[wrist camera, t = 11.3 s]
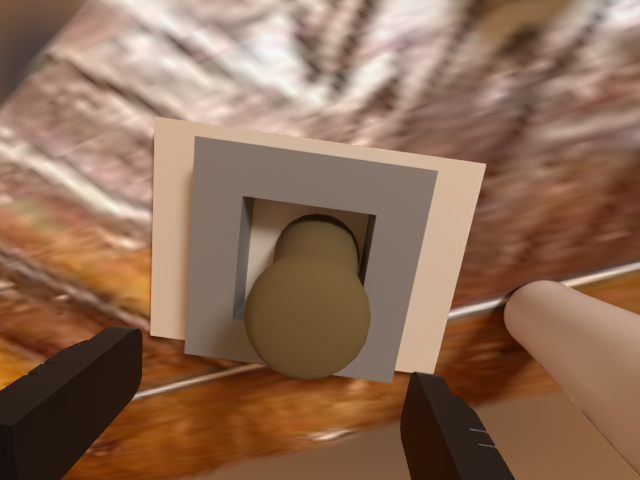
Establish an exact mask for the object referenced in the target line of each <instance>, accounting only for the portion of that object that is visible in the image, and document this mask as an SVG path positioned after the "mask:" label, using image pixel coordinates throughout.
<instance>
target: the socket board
mask: <svg viewBox="0 0 640 480" xmlns="http://www.w3.org/2000/svg"><path fill="white" fill-rule="evenodd" d="M485 167H486V164H482V163H475V162H468V161H461V160H454V159H447V158H440V157H433V156H426V155H419V154H412V153H406V152H399V151H392V150H385V149H378V148H371V147H364V146H357V145H350V144H343V143H336V142H329V141H322V140H315V139H308V138H301V137H294V136H287V135H280V134H273V133H266V132H259V131H252V130H245V129H238V128H231V127H224V126H217V125H210V124H203V123H196V122H189V121H182V120H176V119H169V118H162V117H155V134H154V183H153V232H152V282H151V331H150V335H152V336H159V337H166V338H173V339H180V340H185V352H184V354H191V355H198V356H205V357H212V358H219V359H226V360H233V361H240V362H246V363H253V364H260V365H267V364H266V363H264V362H263V361H262V360H261V359H260V358H259V357H258V355H257V354H256V352H255V350H254V349H253V347H252V345H251V344H250V342H249V341H248V337H247V332H246V328H245V324H244V319H245V309H246V300H247V297H248V295H249V293H250V290H251V288H252V286H253V284H254V282H255V281H256V279H257V278H258V277H259V276H260V275H261V274H262V273H263V272H264V271H265V270H266V269H267V268H268V267H269V266H270V265H271V264H272V263H273V259H274V253H275V247H276V242H277V240H278V238H279V236H280V234H281V232H282V230H283V229H284V228H285V227H286V226H287V225H288V224H289V223H290V222H291V221H293V220H295V219H297V218H299V217H301V216H303V215H310V214H316V213H317V214H323V215H330V216H332V217H334V218H336V219H338V220H340V221H342V222H343V223H344V224H345V225H346V226H347V227H348V228H349V229H350V230H351V231H352V233H353V235H354V237H355V239H356V241H357V243H358V249H359V263H358V271H357V277H358V278H359V280H360V282H361V284H362V286H363V288H364V290H365V292H366V294H367V296H368V299H369V306H370V314H371V321H370V325H369V330H368V335H367V339H366V343H365V344H364V346H363V347H362V349H361V351H360V352H359V354H358V356H357V357H356V358H355V359H354V360H353V361H352V362H351V363H349V364H348V365H347V366H346V367H345V368H343V369H342V370H341V371H339V372H337V373H334V374H332V375H337V376H344V377H351V378H358V379H365V380H372V381H379V382H386V383H392V380H393V375H394V371H395V370H396V371H403V372H410V373H413V372H414V371H415V372H422V373H429V374H434V370H435V366H436V362H437V358H438V354H439V350H440V346H441V342H442V338H443V334H444V330H445V326H446V322H447V318H448V314H449V310H450V307H451V303H452V299H453V295H454V291H455V287H456V283H457V279H458V275H459V271H460V267H461V263H462V259H463V255H464V251H465V247H466V243H467V239H468V235H469V231H470V227H471V223H472V219H473V215H474V211H475V207H476V203H477V199H478V195H479V191H480V187H481V183H482V179H483V175H484V171H485ZM267 366H268V365H267Z"/></svg>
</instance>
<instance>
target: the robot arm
mask: <svg viewBox="0 0 640 480" xmlns="http://www.w3.org/2000/svg"><path fill="white" fill-rule="evenodd" d="M141 378H142V332H141V330H139V329H136V328H129V327H122V326H116V325H111V326H109V327H107V328H105V329H104V330H103V331H101V332H100V333H98V334H97V335H95V336H94V337H92V338H91V339H90V340H85V341H82V342H80V343H77V344H75V345H72V346H70V347H67V348H65V349H63V350H61V351H60V352H58V353H57V354H55V355H54V356H52V357H51V358H49V359H48V360H46V361H45V363H44V364H40V365H39V366H37V367H36V368H34V369H33V370H31V371H30V372H28V375H24V376H22V377H21V378H19V379H17V380H16V381H14V382H13V383H11V384H10V385H8V386H7V387H5V388H4V389H2V390H1V391H0V480H61V479H62V478H63V477H64V475H65V474H66V473H67V472H68V471H69V470H70V469H71V468H72V466H73V465H74V464H75V463H76V462H77V461H78V460H79V458H80V457H81V456H82V455H83V454H84V453H85V452H86V451H87V449H88V448H89V447H90V446H91V445H92V444H93V443H94V441H95V440H96V439H97V438H98V437H99V436H100V435H101V434H102V432H103V431H104V430H105V429H106V428H107V427H108V426H109V425H110V423H111V422H112V421H113V420H114V419H115V418H116V417H117V415H118V414H119V413H120V412H121V411H122V410H123V409H124V408H125V406H126V405H127V404H128V403H129V402H130V401H131V400H132V398H133V397H134V396H135V394H136V392H137V390H138V388H139V385H140V382H141ZM400 431H401V440H402V444H403V448H404V452H405V456H406V460H407V464H408V468H409V472H410V476H411V480H515V478H514V477H513V475H512V473H511V472H510V470H509V468H508V466H507V465H506V463H505V461H504V460H503V458H502V456H501V455H500V453H499V451H498V450H497V449H495V444H494V443H493V441H492V439H491V438H490V436H489V434H487V433H486V429H485V427H484V426H483V424H482V422H481V421H480V419H479V417H478V416H477V414H476V412H475V411H474V410H473V409H472V408H470V407H469V406H468V405H467V404H466V403H465V402H464V401H463V400H462V399H461V398H460V397H455V396H452V394H451V392H450V390H449V389H448V387H447V385H446V383H445V381H444V379H443V377H442V376H440V375H435V374H429V373H422V372H415V371H414V372H413V373H412V375H411V377H410V381H409V385H408V390H407V394H406V398H405V402H404V407H403V411H402V415H401V424H400Z"/></svg>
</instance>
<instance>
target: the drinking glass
mask: <svg viewBox="0 0 640 480" xmlns="http://www.w3.org/2000/svg"><path fill="white" fill-rule="evenodd" d="M504 323H505V326H506V329H507V330H508V332H509V334H510V335H511V336H512V337H513V338H514V339H515V340H516V341H517V342H518V343H519V344H520V345H521V346H522V347H523V348H524V349H525V350H526V351H527V352H528V353H529V354H530V355H531V356H532V357H533V358H534V359H535V360H536V361H537V363H538V364H539V365H540V366H541V367H542V368H543V369H544V370H545V371H546V372H547V374H548V375H549V376H550V377H551V378H552V379H553V380H554V381H555V382H556V384H557V385H558V386H559V387H560V388H561V389H562V390H563V391H564V392H565V394H566V395H567V396H568V397H569V398H570V399H571V400H572V401H573V403H574V404H575V405H576V406H577V407H578V408H579V409H580V410H581V411H582V413H583V414H584V415H585V416H586V417H587V418H588V419H589V420H590V422H591V423H592V424H593V425H594V426H595V427H596V428H597V429H598V431H599V432H600V433H601V434H602V435H603V436H604V437H605V438H606V439H607V441H608V442H609V443H610V444H611V445H612V446H613V447H614V448H615V449H616V450H617V452H619V454H620V455H621V456H622V457H623V458H624V459H625V460H626V461H627V462H628V463H629V465H630V466H631V467H632V468H633V469H634V470H635V471H636V472H637V473H638V474H639V475H640V315H639V314H636V313H634V312H631V311H628V310H626V309H623V308H620V307H618V306H615V305H612V304H610V303H607V302H604V301H602V300H599V299H596V298H594V297H591V296H588V295H586V294H583V293H581V292H578V291H576V290H574V289H572V288H570V287H568V286H566V285H563V284H561V283H558V282H555V281H548V280H541V281H534V282H531V283H528V284H526V285H524V286H522V287H520V288H519V289H518V290H516V291H515V292H514V293H513V294H512V295H511V297H510V298H509V300H508V301H507V303H506V306H505V309H504Z"/></svg>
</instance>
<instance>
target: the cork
mask: <svg viewBox="0 0 640 480" xmlns="http://www.w3.org/2000/svg"><path fill="white" fill-rule="evenodd" d="M358 263H359V249H358V243H357V241H356V239H355V237H354V235H353V233H352V231H351V230H350V229H349V228H348V227H347V226H346V225H345V224H344V223H343V222H342V221H340V220H338V219H336V218H334V217H332V216H330V215H323V214H317V213H316V214H310V215H303V216H301V217H299V218H297V219H295V220H293V221H291V222H290V223H289V224H288V225H287V226H286V227H285V228H284V229H283V230H282V232H281V234H280V236H279V238H278V240H277V242H276V247H275V253H274V259H273V263H272V264H271V265H270V266H269V267H268V268H267V269H266V270H265V271H264V272H263V273H262V274H261V275H260V276H259V277H258V278H257V279H256V281H255V282H254V284H253V286H252V288H251V290H250V293H249V295H248V297H247V300H246V309H245V319H244V324H245V328H246V332H247V337H248V341H249V342H250V344H251V345H252V347H253V349H254V350H255V352H256V354H257V355H258V357H259V358H260V359H261V360H262V361H263V362H264V363H266V364H267V365H268V366H269V367H270V368H271V369H272V370H274V371H276V372H278V373H280V374H282V375H285V376H287V377H289V378H295V379H301V380H313V379H321V378H325V377H327V376H330V375H332V374H334V373H337V372H339V371H341V370H342V369H343V368H345V367H346V366H347V365H348V364H349V363H351V362H352V361H353V360H354V359H355V358H356V357H357V356H358V354H359V352H360V351H361V349H362V347H363V346H364V344H365V343H366V339H367V335H368V330H369V325H370V321H371V314H370V306H369V299H368V296H367V294H366V292H365V290H364V288H363V286H362V284H361V282H360V280H359V278H358V277H357V271H358Z"/></svg>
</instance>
